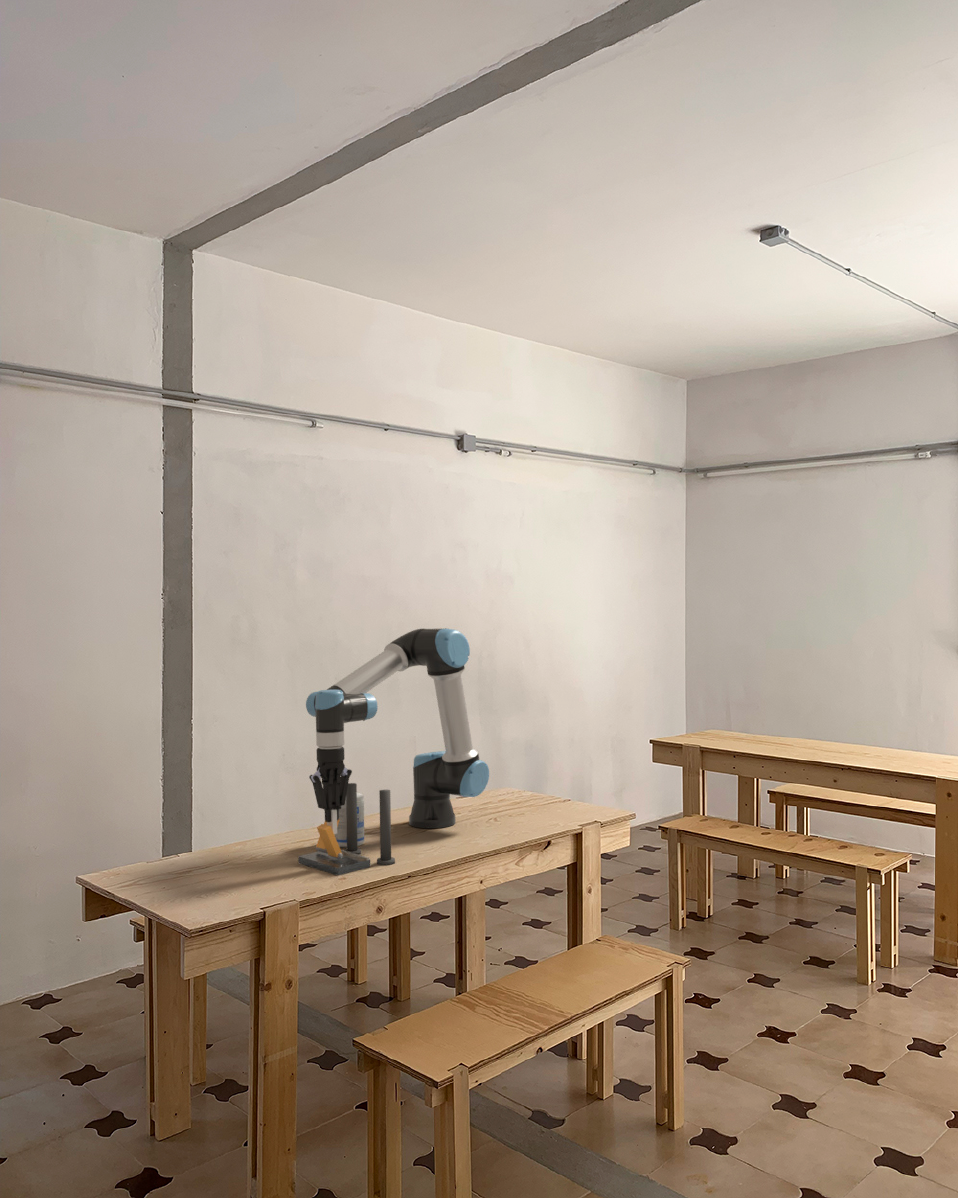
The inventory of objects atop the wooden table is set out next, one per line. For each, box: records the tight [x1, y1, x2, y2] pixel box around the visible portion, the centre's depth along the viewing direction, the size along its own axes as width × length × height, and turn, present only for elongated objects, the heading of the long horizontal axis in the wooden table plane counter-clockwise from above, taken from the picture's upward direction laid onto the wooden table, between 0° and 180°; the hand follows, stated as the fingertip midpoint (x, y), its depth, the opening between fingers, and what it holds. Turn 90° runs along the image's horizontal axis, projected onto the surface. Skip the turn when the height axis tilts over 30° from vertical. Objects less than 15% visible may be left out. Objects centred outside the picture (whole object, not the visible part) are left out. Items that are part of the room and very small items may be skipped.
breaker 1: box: [316, 823, 343, 859], centre depth 264 cm, size 2×4×10 cm, turn 46°
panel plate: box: [297, 849, 371, 876], centre depth 267 cm, size 11×18×3 cm, turn 45°
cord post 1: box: [343, 782, 362, 855], centre depth 279 cm, size 5×5×20 cm
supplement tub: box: [335, 792, 365, 848], centre depth 290 cm, size 10×10×15 cm
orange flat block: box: [315, 819, 340, 853], centre depth 272 cm, size 2×4×10 cm, turn 46°
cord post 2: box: [376, 789, 396, 866], centre depth 268 cm, size 5×5×20 cm
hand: (332, 833), depth 264 cm, fingers closed
